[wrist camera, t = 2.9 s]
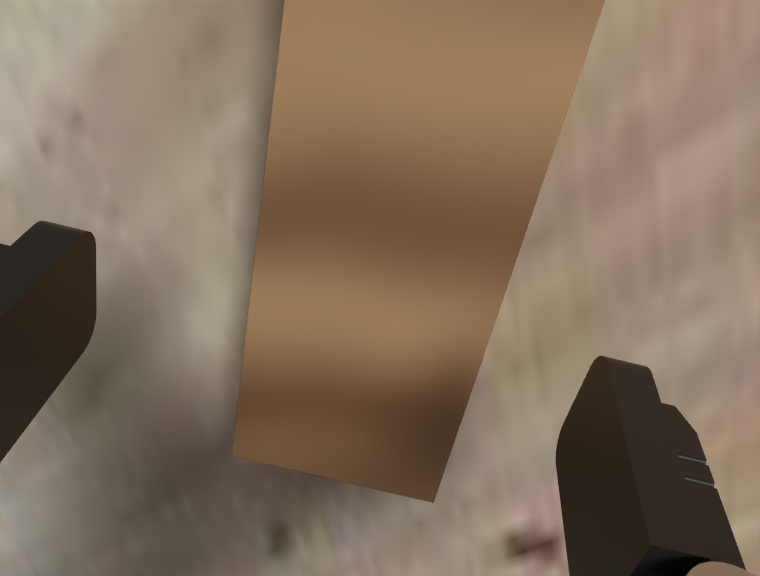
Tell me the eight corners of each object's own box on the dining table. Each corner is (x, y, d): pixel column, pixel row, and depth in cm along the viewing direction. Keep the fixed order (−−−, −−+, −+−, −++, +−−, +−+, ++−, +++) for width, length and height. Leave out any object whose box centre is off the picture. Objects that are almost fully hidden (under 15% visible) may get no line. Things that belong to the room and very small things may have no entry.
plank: (367, -292, 16) (323, -343, 12) (637, -231, 16) (693, -259, 12) (274, 353, 25) (231, 455, 21) (442, 392, 25) (433, 502, 21)
